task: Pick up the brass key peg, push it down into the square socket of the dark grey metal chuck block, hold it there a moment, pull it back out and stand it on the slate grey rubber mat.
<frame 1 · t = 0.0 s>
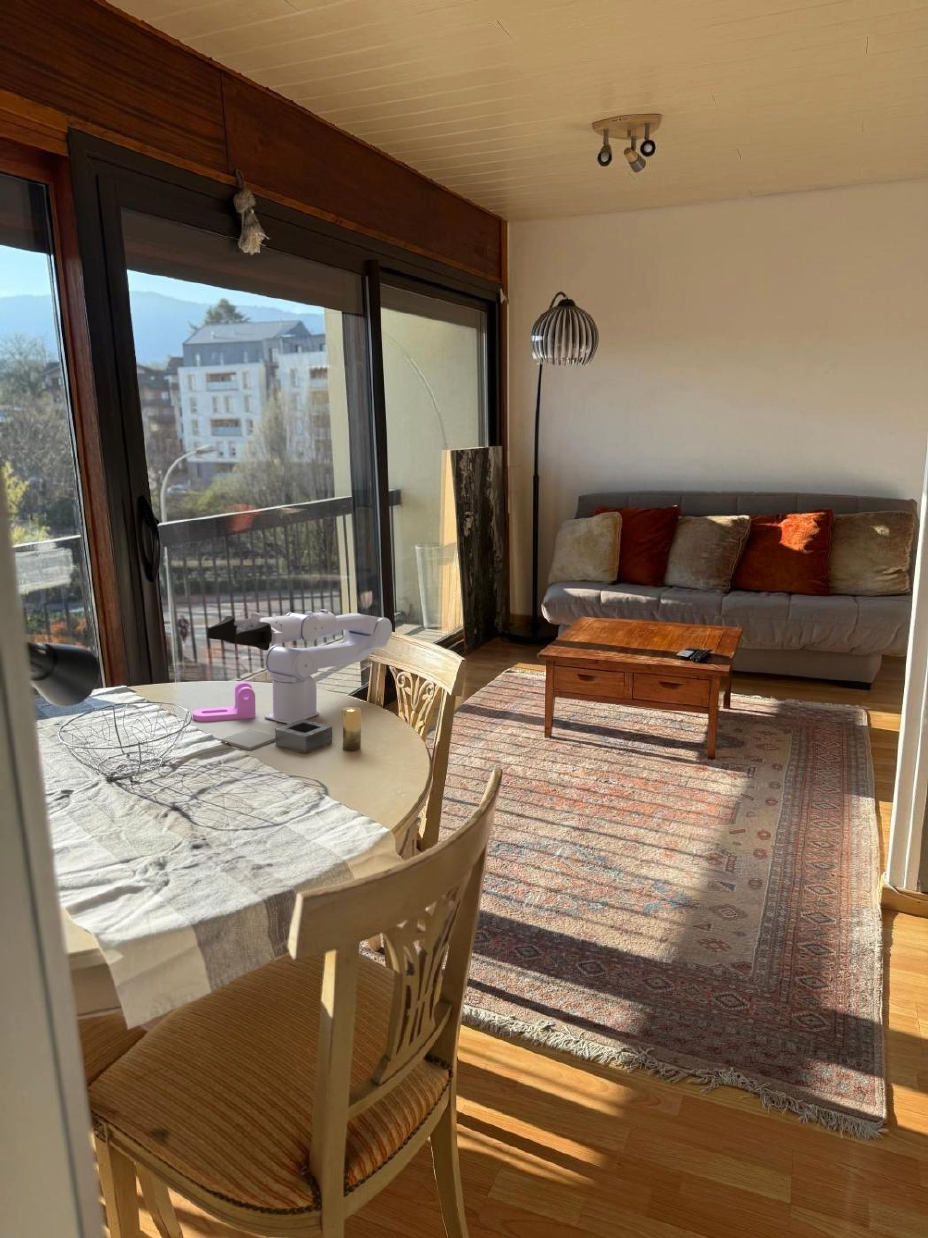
hand: (222, 635, 171), 22 cm above the table, tool horizontal, fingers open, 7 cm apart
key peg: (351, 748, 174), on the table
chuck block: (304, 744, 175), on the table
bracket: (223, 717, 191), on the table
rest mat: (249, 740, 176), on the table
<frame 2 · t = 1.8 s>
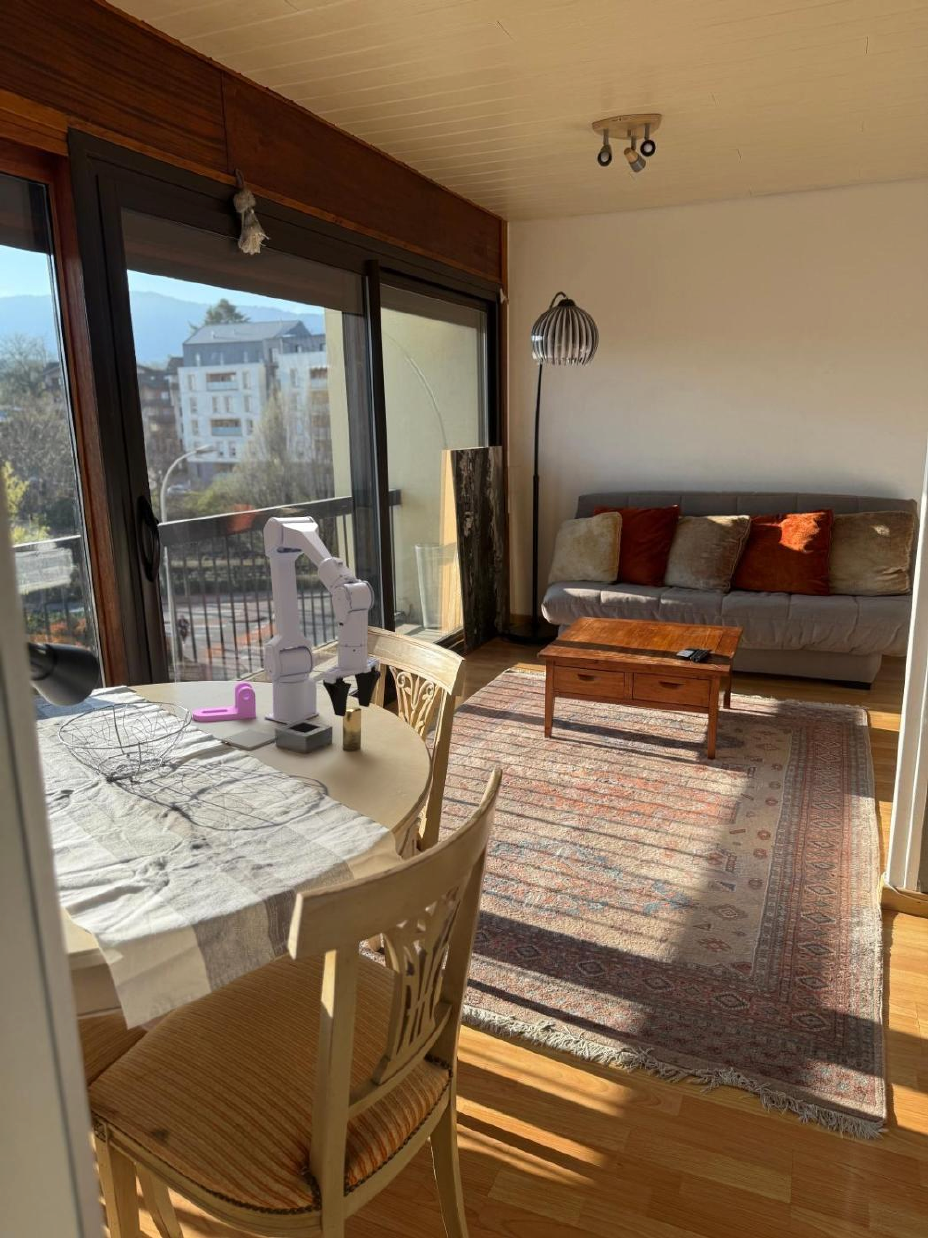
hand: (352, 710, 172), 8 cm above the table, tool pointing down, fingers open, 7 cm apart
nothing on the table moved.
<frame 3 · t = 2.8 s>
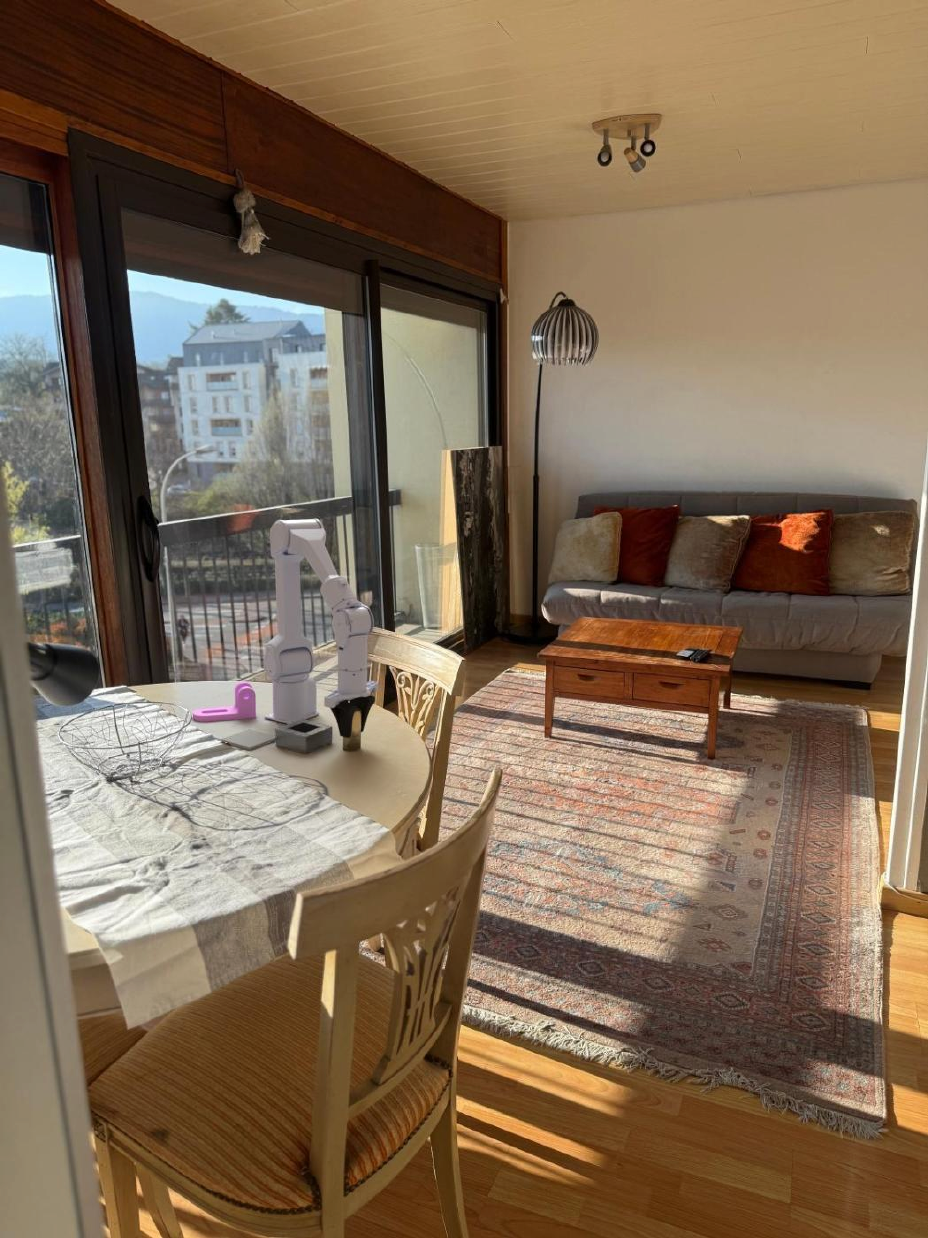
hand: (351, 733, 173), 3 cm above the table, tool pointing down, fingers closed on key peg, 4 cm apart
key peg: (351, 748, 174), on the table, touching gripper
everything else where it was.
when the fingers open (5 cm above the table, at t = 9.5 s): key peg stays where it is, resting on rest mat.
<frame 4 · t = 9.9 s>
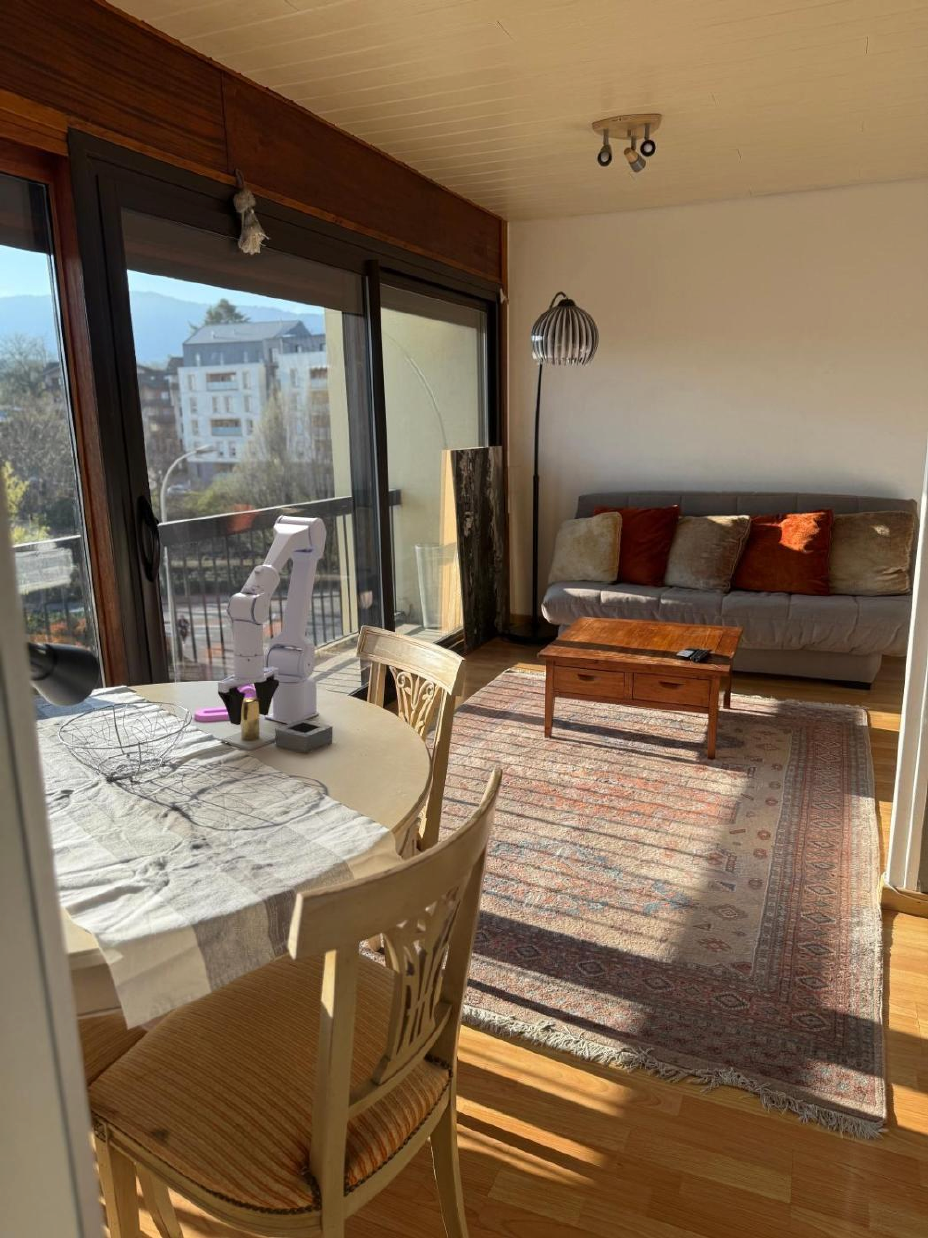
hand: (249, 719, 175), 5 cm above the table, tool pointing down, fingers open, 7 cm apart
key peg: (250, 738, 176), point 1 cm above the table, touching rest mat
everything else where it was.
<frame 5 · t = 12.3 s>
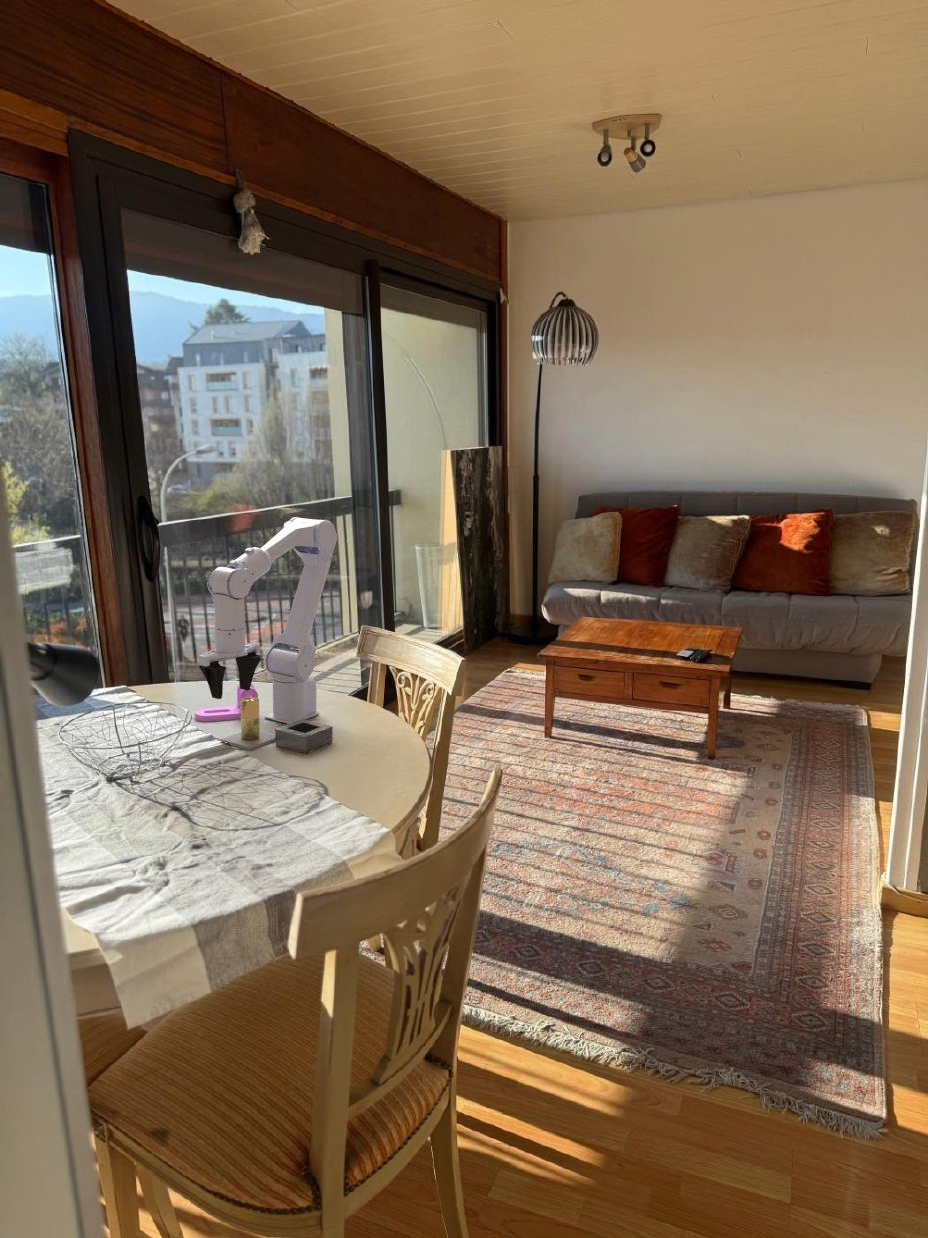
hand: (231, 693, 175), 9 cm above the table, tool pointing down, fingers open, 7 cm apart
nothing on the table moved.
at the end: key peg 0.2 cm off-centre on the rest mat, point 0.6 cm above the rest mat's base; key peg tilted 1°; the gripper is holding nothing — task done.
